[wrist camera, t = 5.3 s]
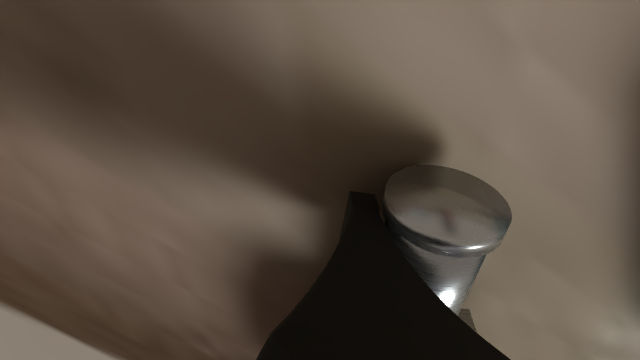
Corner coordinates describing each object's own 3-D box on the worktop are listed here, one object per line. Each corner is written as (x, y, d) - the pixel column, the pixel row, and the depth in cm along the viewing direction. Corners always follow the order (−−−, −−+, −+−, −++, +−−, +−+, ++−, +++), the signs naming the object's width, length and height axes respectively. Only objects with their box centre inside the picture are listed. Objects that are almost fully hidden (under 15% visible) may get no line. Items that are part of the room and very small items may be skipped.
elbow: (436, 387, 19) (454, 474, 16) (304, 374, 19) (296, 458, 16) (544, 175, 11) (616, 263, 8) (325, 155, 12) (317, 235, 8)
